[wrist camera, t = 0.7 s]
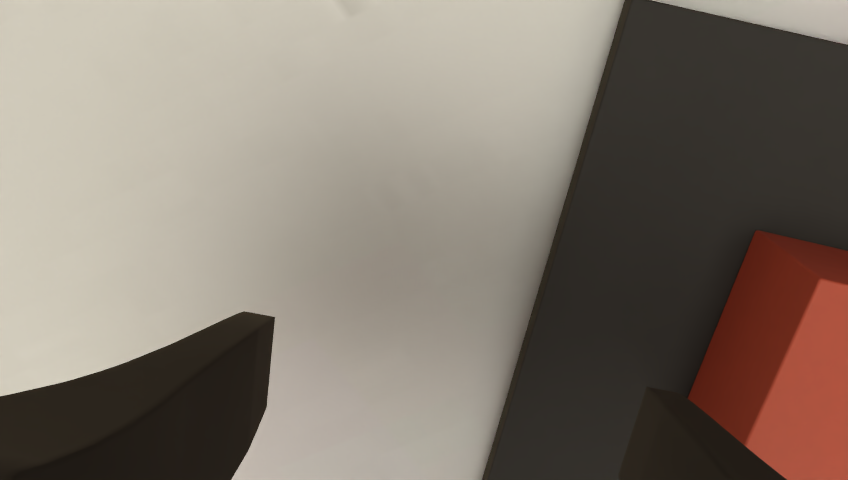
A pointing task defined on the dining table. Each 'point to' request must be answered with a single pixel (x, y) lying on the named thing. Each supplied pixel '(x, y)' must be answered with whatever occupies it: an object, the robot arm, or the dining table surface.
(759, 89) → the mat
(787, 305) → the block
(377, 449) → the dining table surface
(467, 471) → the dining table surface
